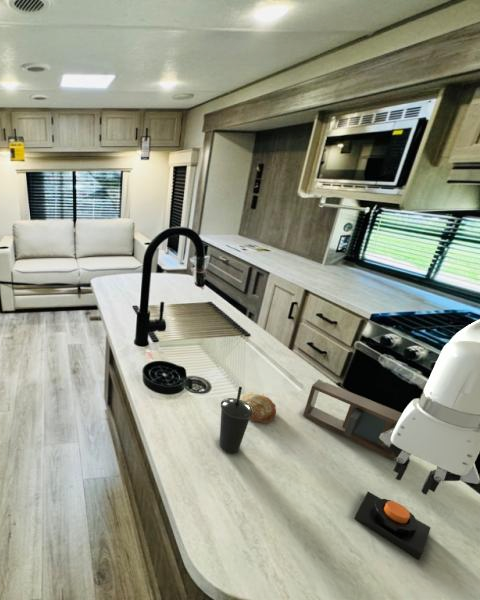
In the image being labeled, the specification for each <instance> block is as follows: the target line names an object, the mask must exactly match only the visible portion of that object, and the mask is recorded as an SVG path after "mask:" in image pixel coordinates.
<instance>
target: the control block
mask: <svg viewBox="0 0 480 600" xmlns="http://www.w3.org/2000/svg"><path fill="white" fill-rule="evenodd" d="M388 501H393V502H395V501H394V500H390V499H388V498H381V497H379V496H377V495H375V494H374V493H372V492H370V491H367V492H366V494H365V496H364V497H363V500H362V502H361V503H360V505H359V507H358V509H357V511H356V513H355V515H354V518H353V519H354V520H355V521H357V522H358V523H359V524H361V525H362V526H365V527H366V528H367V529H368V530H370V531H372V532H374V533H375V534H377V535H378V536H379V537H381V538H383V539H384V540H386V541H387V542H389V543H390V544H392V545H394V546H395V547H397V548H398V549H400V550H401V551H403V552H404V553H406V554H407V555H409V556H411V557H412V558H413V559H415V560H416V561H420V560H421V558H422V555H423V554H424V552H425V548H426V544H427V541H428V538H429V534H430V532H431V528H432V527H431V526H429V525H428V524H426V523H424V522H422V521H421V520H418V519H417V518H416V517H415V515H414V514H413V513H411V512H410V511H409V513H410V518H409V520H408V522H407V523H405V524H401V523H398V522H396V521H394V520H393V519H391V518H389V517H388V516H387V515H386V514H385V512H384V507H385V505H386V503H387V502H388Z"/></svg>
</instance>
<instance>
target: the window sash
mask: <svg viewBox="0 0 480 600" xmlns="http://www.w3.org/2000/svg"><path fill="white" fill-rule="evenodd" d="M343 421H344V423H343V426H342V427H343V428H345V432H344V435H346V436H348V437H350V436H351V435H352V433H353V432H354V433H356V434H358V435H360V436H362V437H364V438H366V439H368V440H370V441H372V442H374V443H377V444H378V445H380V446H383V444H384V442H383V441H382V440H381V439H380V438H379V436H380V434H381V433H383V432H386V431H388V430H390V428H391V426H392V424H393V423H392V422H389V421H387V420H385V419H382V418H380V417H378V416H375V415H373V414H371V413H368V412H366V411H364V410H361V409H359V408H357V407H354V406H352V405H350V404H349V406H348V410H347V412H346V415H345V418H344V420H343Z"/></svg>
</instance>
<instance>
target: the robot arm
mask: <svg viewBox="0 0 480 600" xmlns="http://www.w3.org/2000/svg"><path fill="white" fill-rule="evenodd" d="M401 413H402V415H401V417H400V419H399V421H398V422H397V424H396V426H395V428H393V429H390V430H388V431H386V432H383V433H381V434H380V436H379V438H380V439H381V440H382V441H383V442H384V443H385V444H386V445H387V446H389V447H390V449H391V451H392V452H393V453H394V455H395V456H396V458H395V460H396V461H397V462H396V464H395V466H394V468H393V472H394V473H396V476H395V478H394V479H395V480H397V481H401V480H402V478H403V476H404V474H405V473H406V470H407V469H408V466H409V464H410V462H411V460H410V456H415V457H417V458H418V459H421V460H423V461H425V462H427V463H429V464H432V465H434V466H435V467H436V469H433V470H430V472H429V474H428V475H427V477H426V479H425V481H424V483H423V485H422V487H421V491H420V492H421V493H422V494H423V495H425V496H427V495H428V493H429V491H431V492H433V493H435V492H436V490H437V488H438V486H439V485H440V483H444V482H464V483H469V484H474V485H478V484H480V474H479V472H478V469H477V467H476V463H475V462H476V461H477V458H478V456H479V454H480V319H478V320H475V321H474V322H472V323H471V324H468V325H467V326H465V327H463V328H462V329H460V330H459V331H458V332H456V334H454V335H453V336H452V337H451V338H450V340H449V341H448V342H447V343H445V345H444V346H443V347H442V349H441V351H440V353H439V356H438V358H437V360H436V362H435V364H434V367H433V369H432V371H431V373H430V376H429V377H428V379H427V381H426V383H425V386H424V388H423V390H422V392H421V394H420V397H419V398H413V399H412V400H411V401H410V402H409V403H408V404H407V406H406V407H405V408H404V410H403V412H401Z"/></svg>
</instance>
